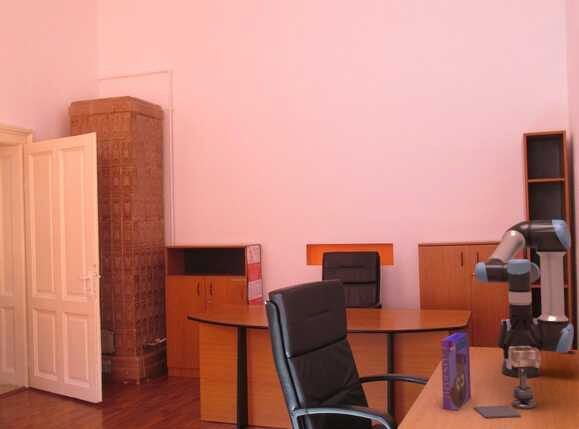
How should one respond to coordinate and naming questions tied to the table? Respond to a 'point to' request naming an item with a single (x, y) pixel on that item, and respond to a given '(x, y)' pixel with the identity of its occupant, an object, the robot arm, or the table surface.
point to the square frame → (525, 356)
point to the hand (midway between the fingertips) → (522, 367)
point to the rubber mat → (497, 411)
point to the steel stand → (523, 393)
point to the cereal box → (455, 371)
